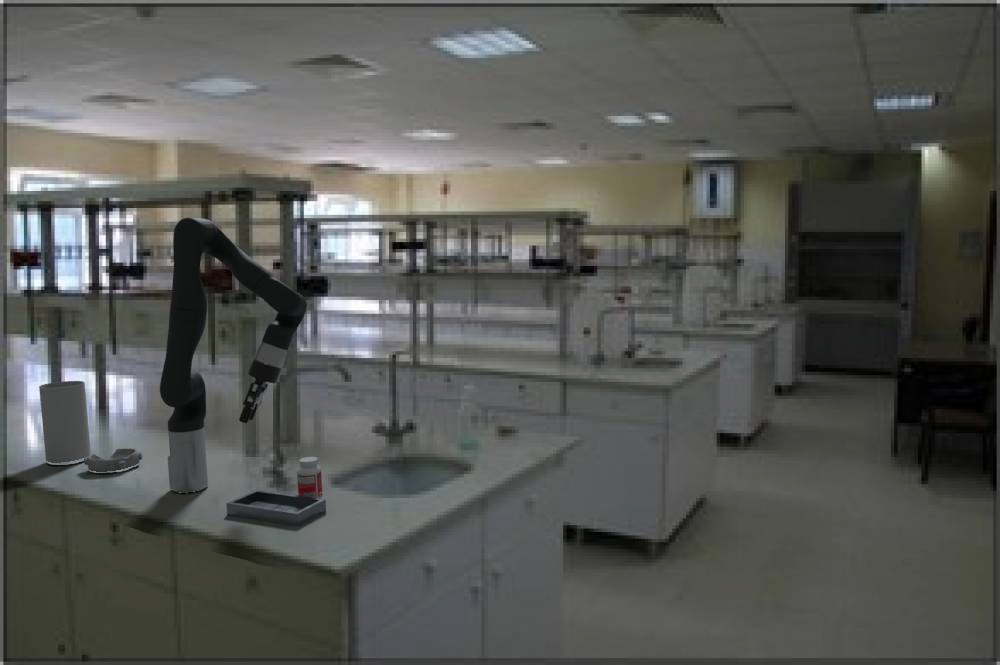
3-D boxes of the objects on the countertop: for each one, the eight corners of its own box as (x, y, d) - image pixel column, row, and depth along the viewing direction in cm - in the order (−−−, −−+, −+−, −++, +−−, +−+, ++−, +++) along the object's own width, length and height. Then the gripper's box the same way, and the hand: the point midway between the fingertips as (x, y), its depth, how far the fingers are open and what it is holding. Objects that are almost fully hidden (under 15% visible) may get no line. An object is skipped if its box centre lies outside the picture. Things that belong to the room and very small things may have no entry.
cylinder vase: (79, 453, 248) (73, 379, 245) (98, 459, 240) (92, 383, 238) (39, 463, 237) (31, 385, 235) (57, 469, 230) (50, 389, 227)
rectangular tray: (227, 514, 187) (226, 503, 186) (257, 500, 197) (256, 489, 196) (298, 526, 178) (297, 513, 178) (326, 510, 188) (325, 499, 188)
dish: (78, 473, 226) (76, 457, 225) (116, 461, 238) (115, 445, 238) (113, 478, 220) (112, 461, 220) (151, 465, 233) (149, 449, 233)
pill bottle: (314, 494, 201) (312, 454, 200) (327, 499, 197) (325, 458, 195) (293, 500, 196) (291, 459, 195) (306, 505, 192) (304, 464, 191)
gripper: (258, 357, 202) (236, 414, 201) (250, 357, 188) (226, 418, 187) (285, 366, 203) (263, 423, 202) (278, 367, 189) (255, 428, 188)
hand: (245, 420), depth 194 cm, fingers open, 8 cm apart
